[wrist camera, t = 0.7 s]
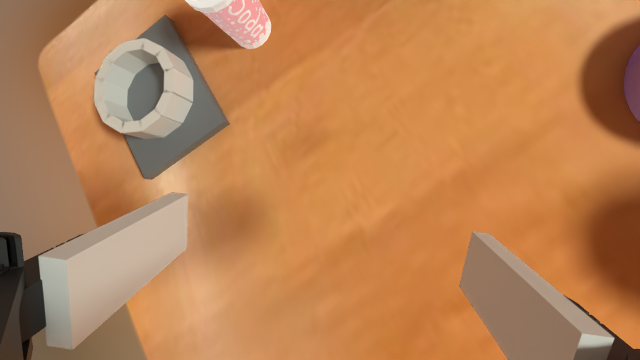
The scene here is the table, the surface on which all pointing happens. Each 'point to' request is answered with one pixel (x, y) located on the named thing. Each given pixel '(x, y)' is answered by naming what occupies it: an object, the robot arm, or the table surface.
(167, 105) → the cup holder
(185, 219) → the robot arm
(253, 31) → the beverage cup
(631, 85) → the masking tape
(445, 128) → the table surface
